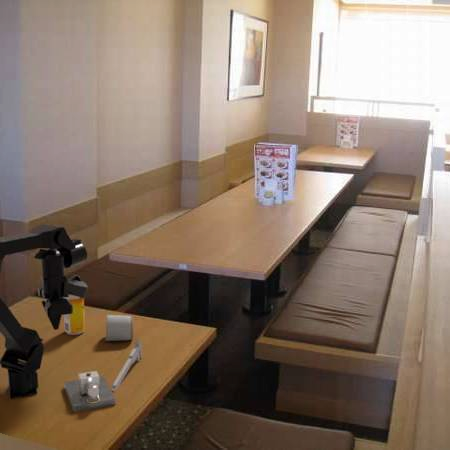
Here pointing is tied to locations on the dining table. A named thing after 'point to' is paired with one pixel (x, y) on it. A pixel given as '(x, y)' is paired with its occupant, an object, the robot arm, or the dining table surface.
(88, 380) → the block
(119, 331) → the ceramic mug
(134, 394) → the dining table surface
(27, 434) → the dining table surface
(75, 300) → the beer can
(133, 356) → the caliper
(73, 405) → the plate
